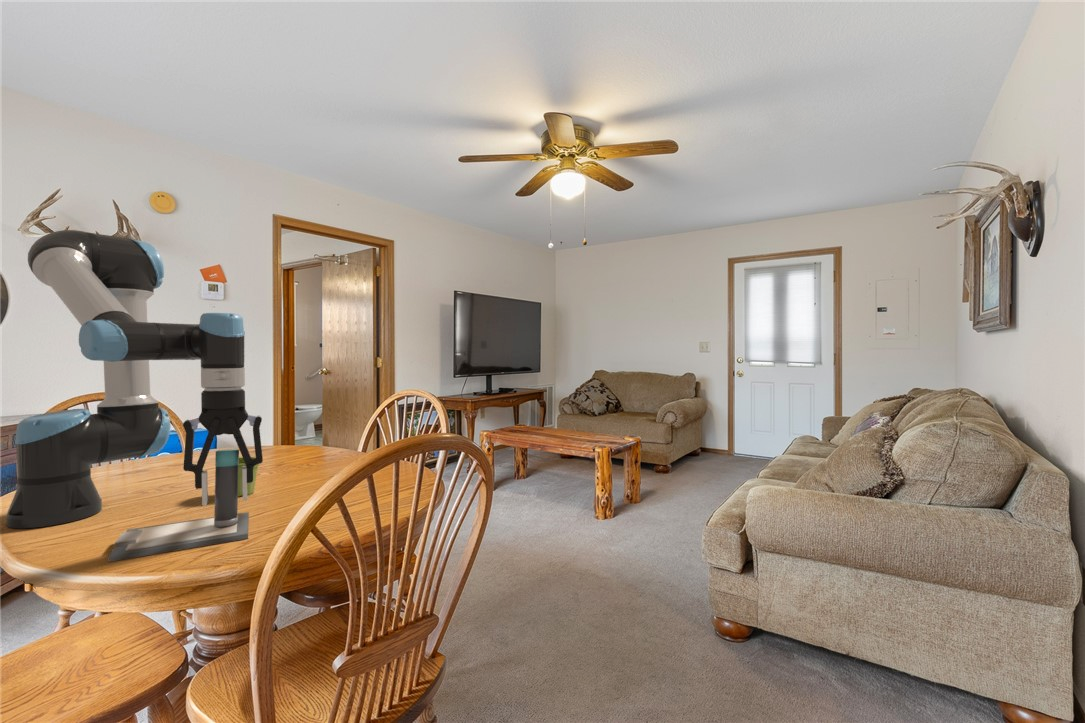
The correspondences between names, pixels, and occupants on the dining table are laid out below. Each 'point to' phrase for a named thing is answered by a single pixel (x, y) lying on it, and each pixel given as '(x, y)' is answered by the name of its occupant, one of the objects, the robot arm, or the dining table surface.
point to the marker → (226, 487)
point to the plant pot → (240, 485)
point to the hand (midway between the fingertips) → (225, 500)
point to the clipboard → (177, 537)
